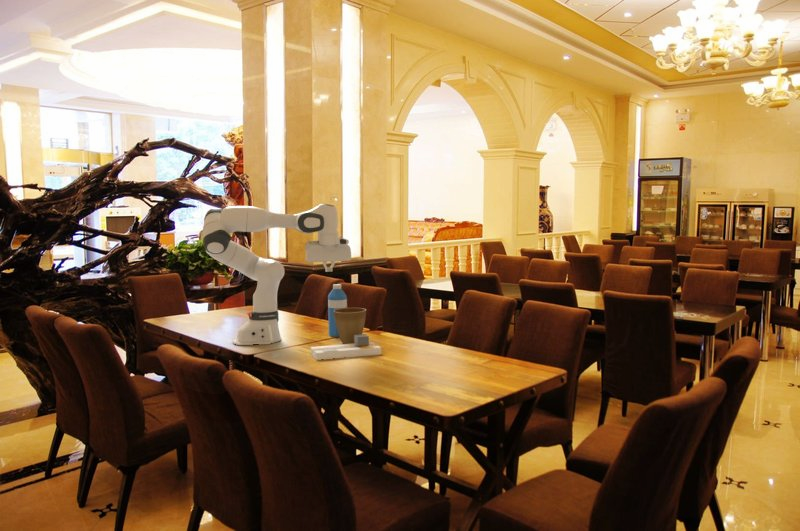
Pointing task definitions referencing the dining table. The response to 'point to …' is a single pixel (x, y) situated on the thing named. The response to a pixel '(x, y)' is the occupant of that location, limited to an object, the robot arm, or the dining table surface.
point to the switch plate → (344, 351)
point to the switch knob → (361, 340)
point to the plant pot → (349, 323)
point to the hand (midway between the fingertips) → (328, 271)
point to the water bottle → (335, 307)
